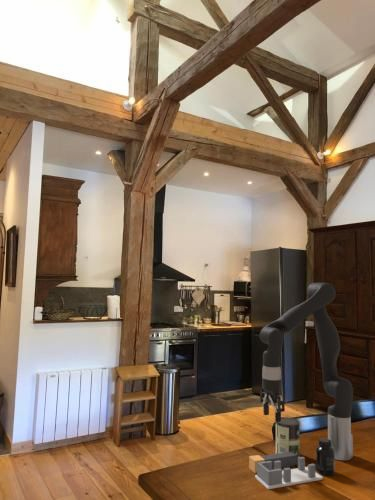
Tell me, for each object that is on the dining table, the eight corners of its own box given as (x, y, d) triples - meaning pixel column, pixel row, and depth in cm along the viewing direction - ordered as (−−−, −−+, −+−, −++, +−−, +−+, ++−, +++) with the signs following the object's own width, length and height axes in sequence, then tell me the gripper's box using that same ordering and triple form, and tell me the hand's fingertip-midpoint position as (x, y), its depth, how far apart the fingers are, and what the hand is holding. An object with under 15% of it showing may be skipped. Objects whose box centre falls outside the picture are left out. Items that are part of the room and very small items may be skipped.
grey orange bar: (291, 461, 160) (291, 450, 161) (298, 465, 156) (298, 454, 157) (248, 467, 153) (249, 456, 154) (254, 472, 149) (254, 461, 149)
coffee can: (298, 451, 170) (298, 418, 172) (300, 461, 160) (300, 426, 162) (274, 448, 172) (275, 415, 174) (275, 458, 162) (275, 423, 164)
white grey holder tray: (307, 468, 154) (307, 454, 154) (322, 479, 145) (322, 464, 146) (254, 477, 145) (255, 462, 146) (268, 489, 137) (268, 473, 137)
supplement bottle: (334, 470, 153) (334, 438, 154) (335, 477, 147) (334, 444, 148) (316, 466, 156) (316, 435, 157) (316, 474, 149) (316, 442, 150)
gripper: (289, 380, 152) (290, 423, 151) (269, 372, 165) (270, 411, 164) (273, 381, 150) (273, 425, 148) (254, 373, 163) (254, 413, 161)
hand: (271, 418), depth 156 cm, fingers open, 8 cm apart
